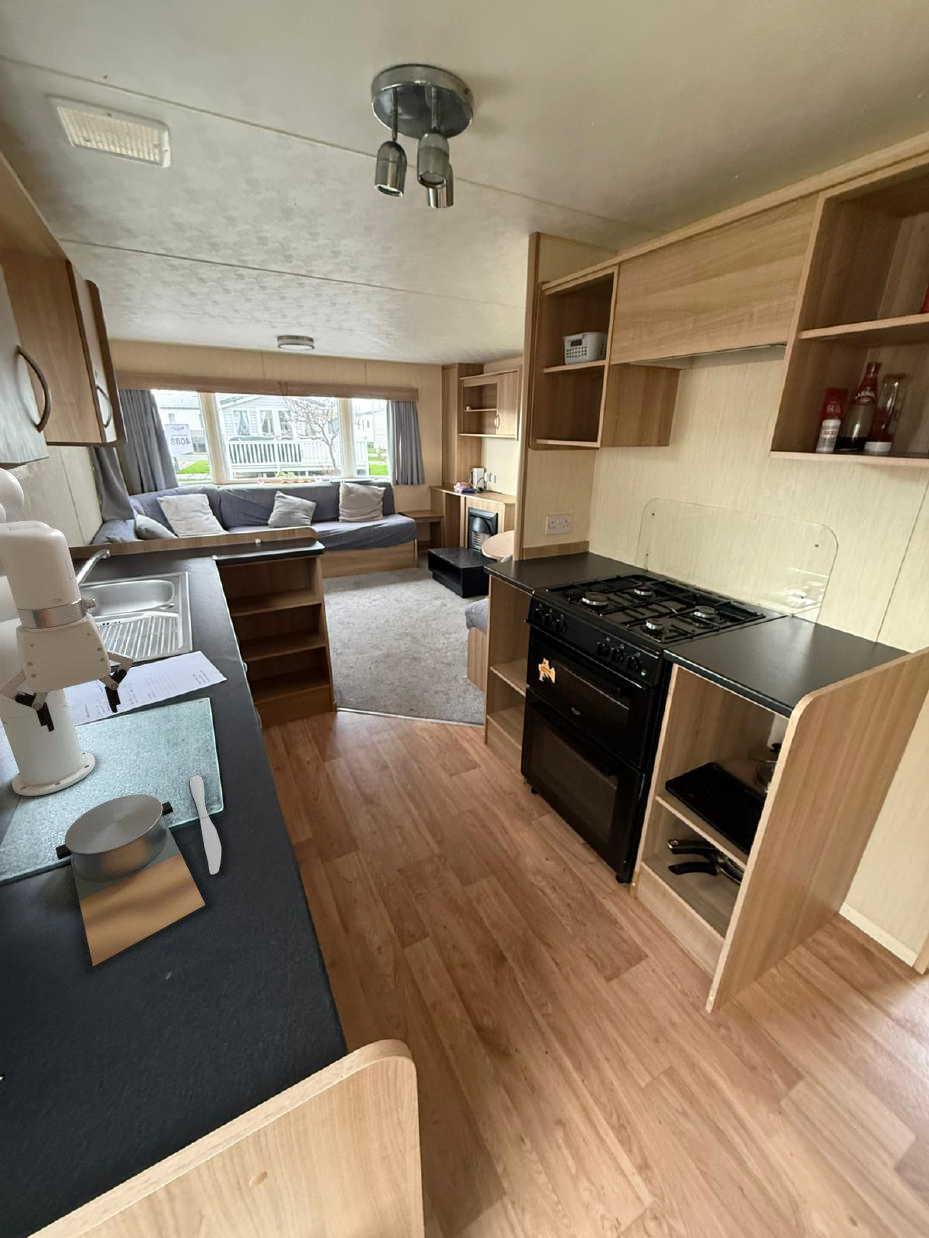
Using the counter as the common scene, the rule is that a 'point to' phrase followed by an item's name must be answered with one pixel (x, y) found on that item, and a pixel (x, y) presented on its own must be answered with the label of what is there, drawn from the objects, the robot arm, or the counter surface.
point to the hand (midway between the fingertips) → (83, 717)
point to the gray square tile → (90, 887)
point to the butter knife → (206, 826)
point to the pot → (116, 837)
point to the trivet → (138, 907)
